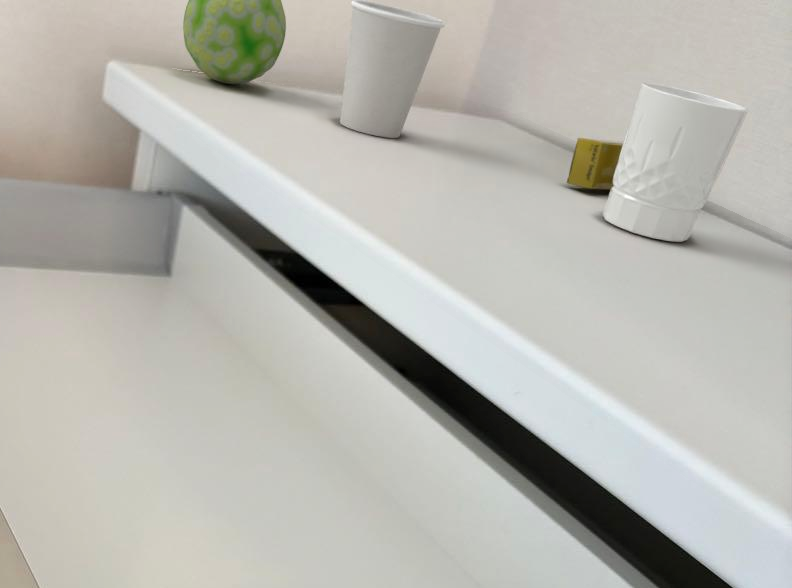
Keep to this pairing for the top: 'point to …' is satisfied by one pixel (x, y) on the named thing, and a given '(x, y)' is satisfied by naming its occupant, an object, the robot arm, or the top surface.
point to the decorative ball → (234, 37)
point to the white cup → (670, 160)
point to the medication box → (594, 163)
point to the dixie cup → (385, 66)
